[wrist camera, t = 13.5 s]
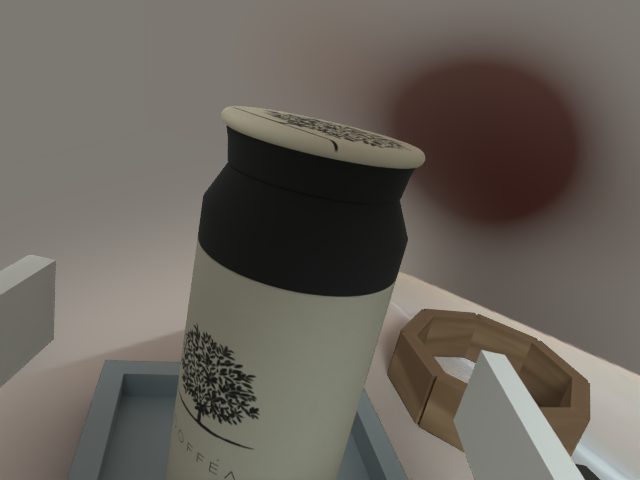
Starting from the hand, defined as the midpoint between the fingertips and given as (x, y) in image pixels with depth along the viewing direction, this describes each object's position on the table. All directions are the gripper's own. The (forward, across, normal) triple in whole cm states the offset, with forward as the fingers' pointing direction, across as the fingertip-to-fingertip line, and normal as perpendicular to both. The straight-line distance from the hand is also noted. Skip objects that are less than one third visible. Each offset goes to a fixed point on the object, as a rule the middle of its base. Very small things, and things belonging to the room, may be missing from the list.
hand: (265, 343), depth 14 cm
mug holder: (+18, +17, -12) cm, 27 cm away
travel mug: (+5, 0, -12) cm, 13 cm away
